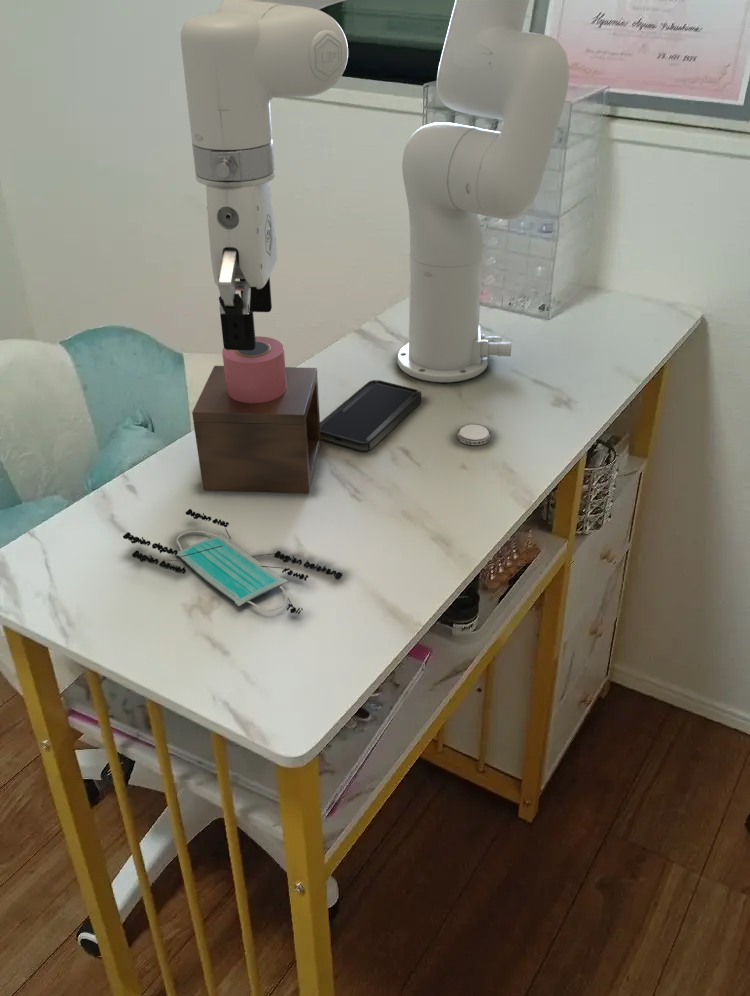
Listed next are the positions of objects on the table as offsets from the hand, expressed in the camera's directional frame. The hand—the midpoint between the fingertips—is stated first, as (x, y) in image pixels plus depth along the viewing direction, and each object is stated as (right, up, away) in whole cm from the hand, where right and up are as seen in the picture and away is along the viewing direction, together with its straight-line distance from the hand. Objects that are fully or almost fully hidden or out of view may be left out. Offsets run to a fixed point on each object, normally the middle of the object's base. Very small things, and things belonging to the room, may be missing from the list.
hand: (249, 329), depth 96 cm
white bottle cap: (+25, -10, +15) cm, 31 cm away
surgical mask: (-1, -25, -5) cm, 26 cm away
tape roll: (0, -6, +4) cm, 7 cm away
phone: (+13, -8, +19) cm, 24 cm away
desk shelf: (0, -14, +10) cm, 17 cm away
